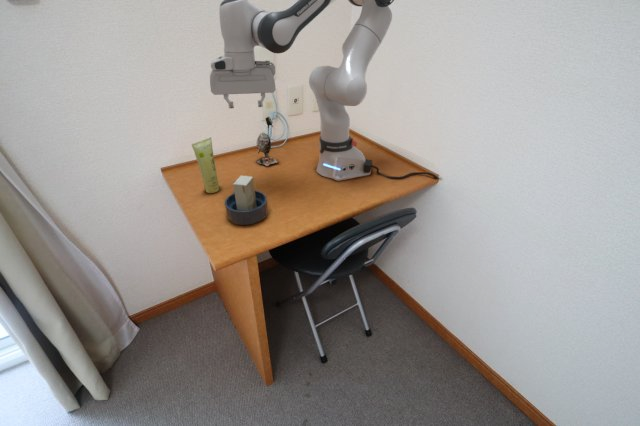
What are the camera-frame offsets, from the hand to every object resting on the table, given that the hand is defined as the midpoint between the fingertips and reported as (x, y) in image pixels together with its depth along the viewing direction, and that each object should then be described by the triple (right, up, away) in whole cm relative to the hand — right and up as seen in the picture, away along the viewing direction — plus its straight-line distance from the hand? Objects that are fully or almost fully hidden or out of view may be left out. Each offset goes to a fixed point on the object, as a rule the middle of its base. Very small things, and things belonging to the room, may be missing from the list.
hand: (246, 107), depth 104 cm
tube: (-16, -27, +13) cm, 33 cm away
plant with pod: (+1, -13, +33) cm, 35 cm away
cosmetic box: (+1, -35, 0) cm, 35 cm away
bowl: (+1, -35, 0) cm, 35 cm away
